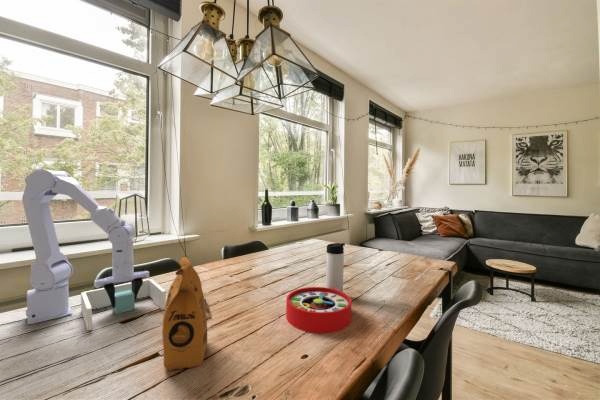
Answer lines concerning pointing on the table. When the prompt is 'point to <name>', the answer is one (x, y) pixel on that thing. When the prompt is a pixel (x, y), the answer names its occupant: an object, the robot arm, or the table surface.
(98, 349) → the table surface
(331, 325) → the toy clock
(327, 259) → the travel mug
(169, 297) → the coffee package
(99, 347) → the table surface
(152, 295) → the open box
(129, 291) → the teal block
